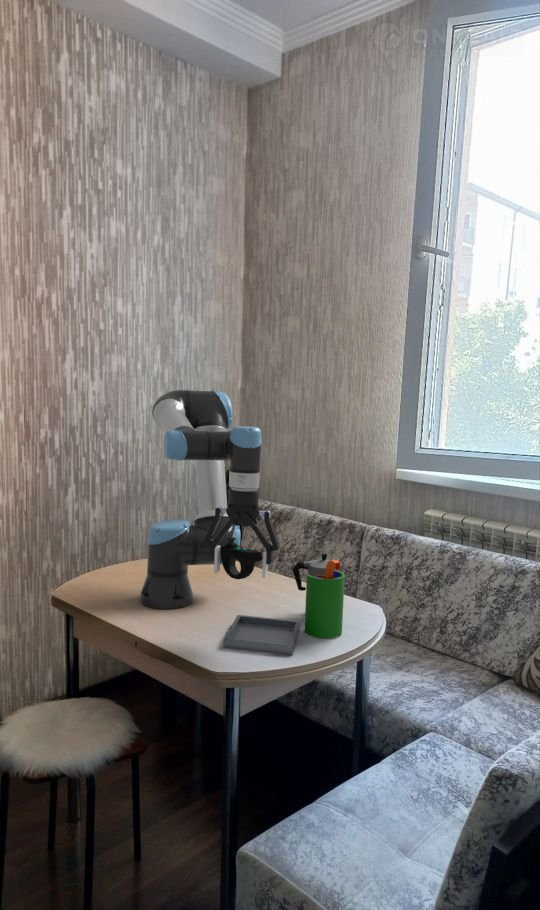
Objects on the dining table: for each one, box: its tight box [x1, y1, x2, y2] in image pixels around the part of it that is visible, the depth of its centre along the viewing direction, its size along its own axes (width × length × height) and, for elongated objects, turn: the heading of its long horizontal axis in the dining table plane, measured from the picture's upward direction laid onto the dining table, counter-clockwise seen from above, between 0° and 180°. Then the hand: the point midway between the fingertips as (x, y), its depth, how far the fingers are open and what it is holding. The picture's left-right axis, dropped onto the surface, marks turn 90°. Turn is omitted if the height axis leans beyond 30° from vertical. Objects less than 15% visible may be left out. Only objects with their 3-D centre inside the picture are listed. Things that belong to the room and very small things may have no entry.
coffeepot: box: [292, 553, 347, 592], centre depth 194 cm, size 15×9×18 cm, turn 101°
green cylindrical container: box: [304, 559, 346, 639], centre depth 181 cm, size 10×9×20 cm
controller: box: [220, 537, 263, 580], centre depth 173 cm, size 4×12×10 cm, turn 49°
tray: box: [223, 614, 301, 656], centre depth 176 cm, size 17×17×2 cm
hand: (240, 574), depth 173 cm, fingers closed on controller, 12 cm apart
